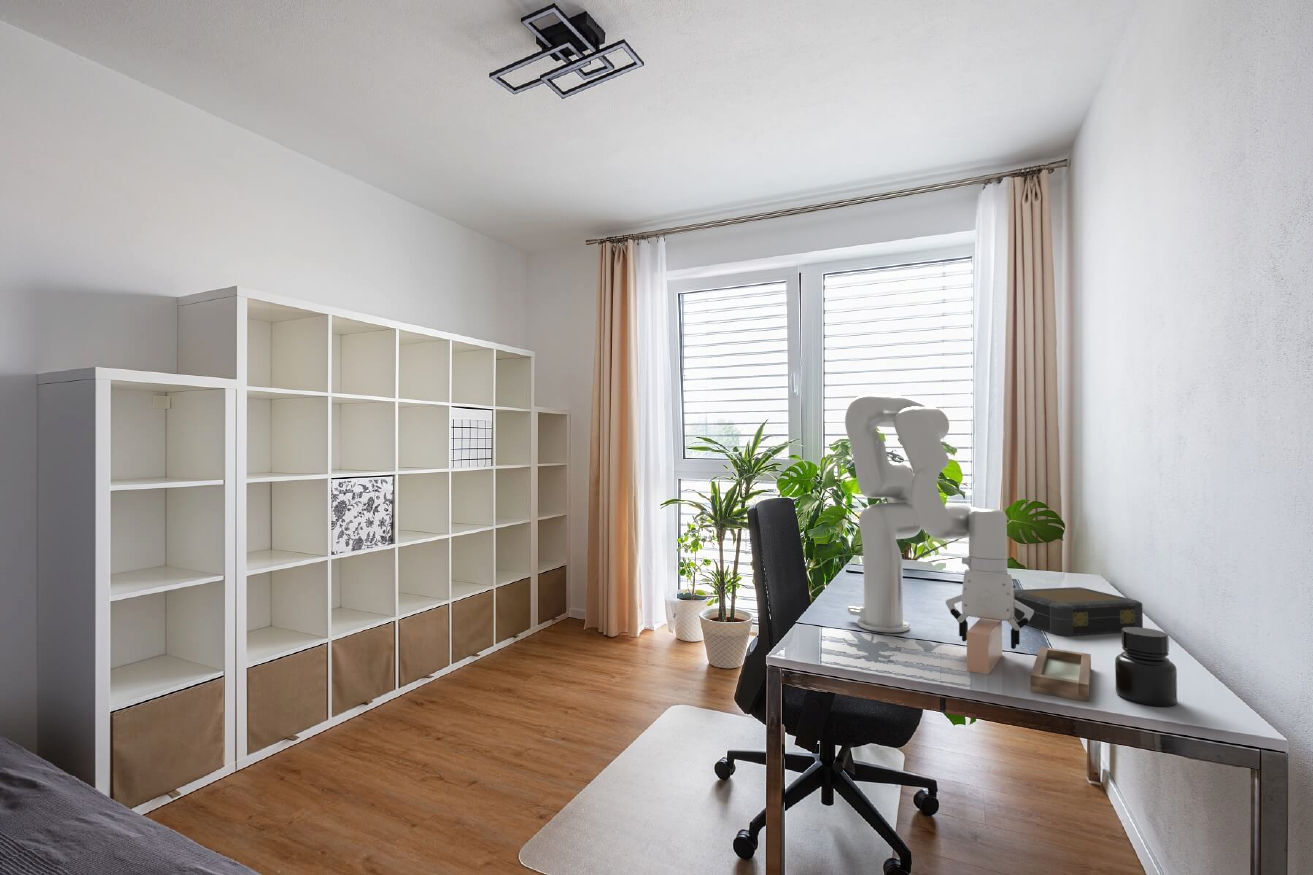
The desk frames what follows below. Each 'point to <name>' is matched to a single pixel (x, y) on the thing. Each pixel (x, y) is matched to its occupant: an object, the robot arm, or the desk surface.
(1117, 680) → the ink bottle
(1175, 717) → the desk surface
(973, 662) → the pink rectangular block
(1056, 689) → the tray
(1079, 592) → the cash box
